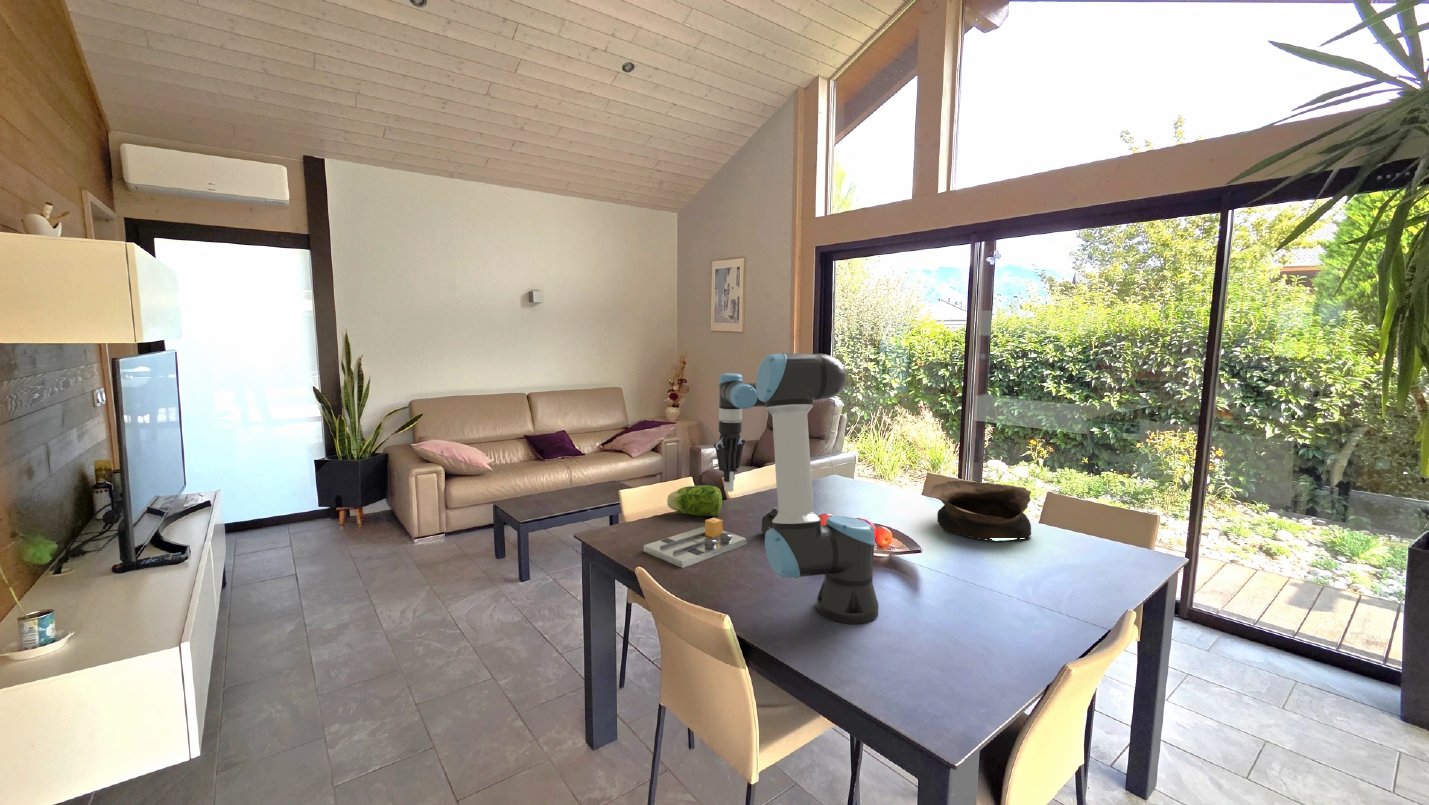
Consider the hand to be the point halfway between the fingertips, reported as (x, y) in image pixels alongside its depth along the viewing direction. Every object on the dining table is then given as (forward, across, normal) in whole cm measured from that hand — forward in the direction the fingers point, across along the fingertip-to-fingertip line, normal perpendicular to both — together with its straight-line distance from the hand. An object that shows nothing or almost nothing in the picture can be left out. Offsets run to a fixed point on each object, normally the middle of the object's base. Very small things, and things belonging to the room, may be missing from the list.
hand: (728, 490), depth 202 cm
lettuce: (+16, -8, -25) cm, 31 cm away
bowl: (+16, -70, +56) cm, 91 cm away
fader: (+14, +7, 0) cm, 15 cm away
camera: (+16, -13, +12) cm, 24 cm away
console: (+16, +15, 0) cm, 22 cm away
